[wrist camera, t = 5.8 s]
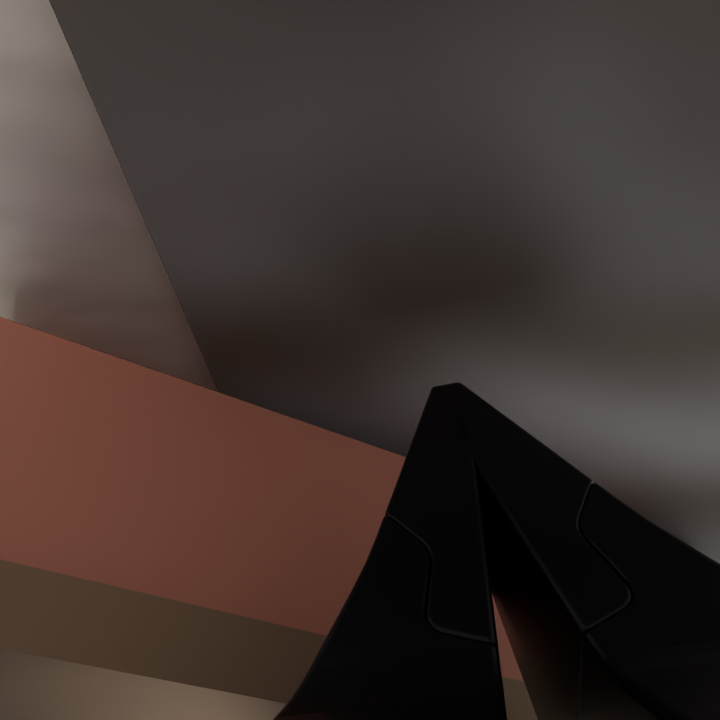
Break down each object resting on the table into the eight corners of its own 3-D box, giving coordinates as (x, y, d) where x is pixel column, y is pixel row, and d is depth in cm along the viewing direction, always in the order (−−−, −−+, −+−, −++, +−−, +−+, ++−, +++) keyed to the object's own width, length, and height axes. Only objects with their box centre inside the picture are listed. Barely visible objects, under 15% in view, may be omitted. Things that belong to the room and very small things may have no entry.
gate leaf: (715, 551, 15) (930, 827, 10) (664, 594, 16) (835, 867, 11) (-21, 290, 10) (-444, 563, 5) (-32, 376, 11) (-392, 686, 6)
